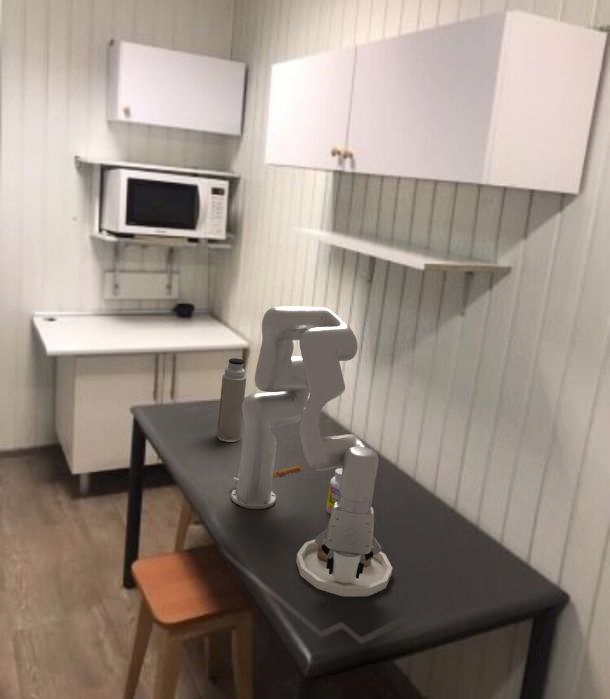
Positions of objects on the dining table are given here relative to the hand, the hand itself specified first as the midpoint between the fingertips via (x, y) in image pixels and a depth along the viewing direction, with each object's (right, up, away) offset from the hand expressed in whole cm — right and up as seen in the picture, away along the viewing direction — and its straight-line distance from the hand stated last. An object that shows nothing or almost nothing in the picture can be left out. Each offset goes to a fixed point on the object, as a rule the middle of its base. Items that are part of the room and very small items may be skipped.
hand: (343, 572), depth 157 cm
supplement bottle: (0, +5, +34) cm, 35 cm away
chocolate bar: (-15, +12, +56) cm, 59 cm away
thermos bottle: (-35, +21, +78) cm, 88 cm away
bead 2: (+5, 0, +10) cm, 11 cm away
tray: (0, -2, +6) cm, 7 cm away
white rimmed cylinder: (0, -1, 0) cm, 1 cm away
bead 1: (-3, +1, +10) cm, 11 cm away
